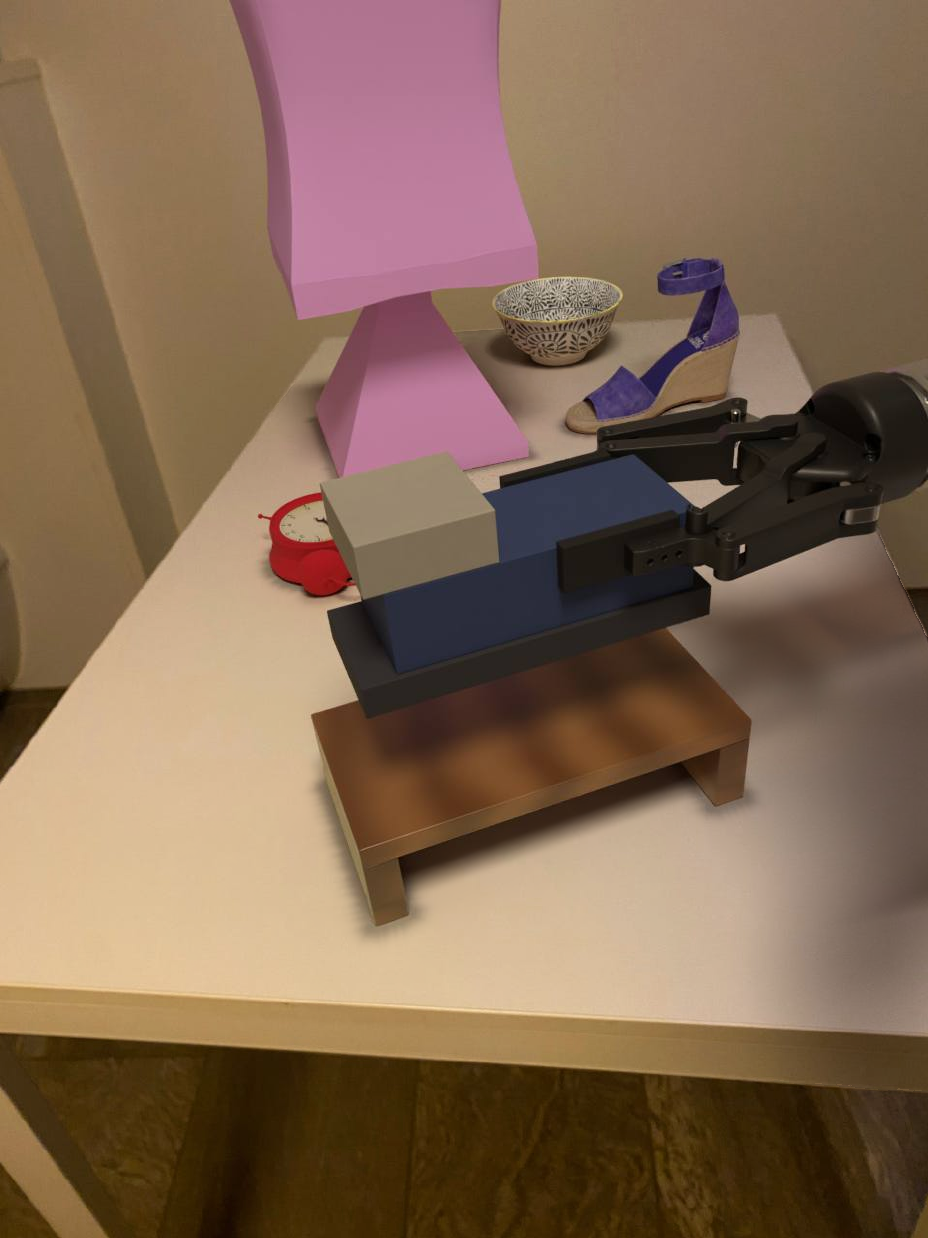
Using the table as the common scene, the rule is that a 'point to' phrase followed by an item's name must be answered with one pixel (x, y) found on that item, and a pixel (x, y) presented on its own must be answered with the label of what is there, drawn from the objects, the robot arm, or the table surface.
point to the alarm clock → (306, 546)
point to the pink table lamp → (391, 210)
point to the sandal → (673, 356)
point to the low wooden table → (523, 750)
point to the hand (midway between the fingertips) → (530, 532)
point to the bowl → (557, 316)
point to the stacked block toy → (487, 574)
